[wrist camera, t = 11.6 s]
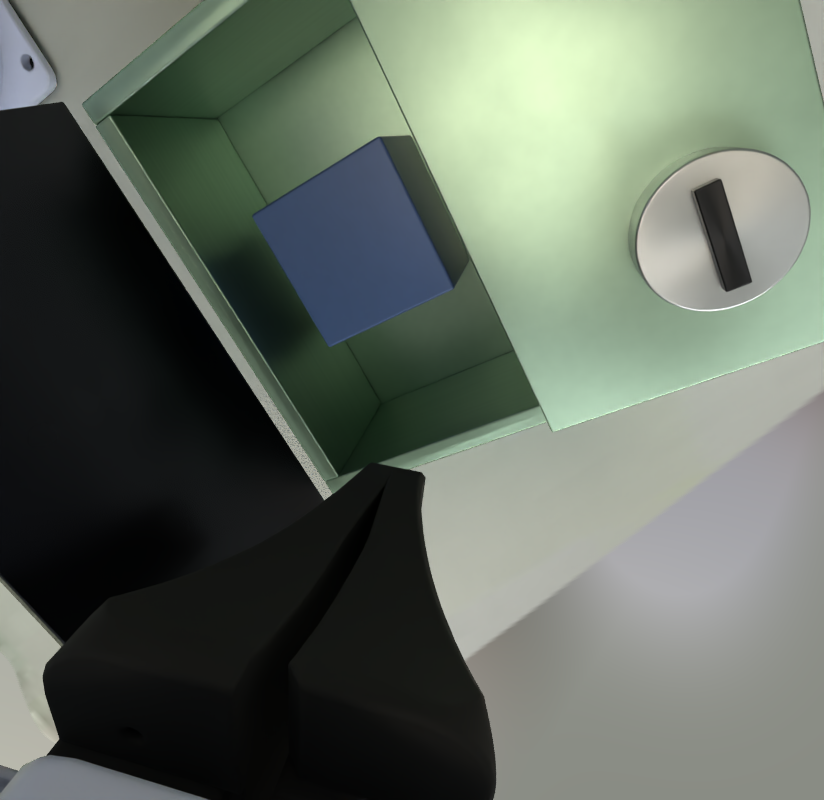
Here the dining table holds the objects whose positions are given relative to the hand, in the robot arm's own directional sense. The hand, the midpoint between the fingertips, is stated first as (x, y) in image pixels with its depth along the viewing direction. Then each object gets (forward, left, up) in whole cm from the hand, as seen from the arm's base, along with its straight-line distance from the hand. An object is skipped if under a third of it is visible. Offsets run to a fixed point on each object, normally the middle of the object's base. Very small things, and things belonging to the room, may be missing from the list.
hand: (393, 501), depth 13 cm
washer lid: (-5, -5, 0) cm, 7 cm away
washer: (-5, +3, -10) cm, 12 cm away
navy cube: (-5, 0, -9) cm, 11 cm away
